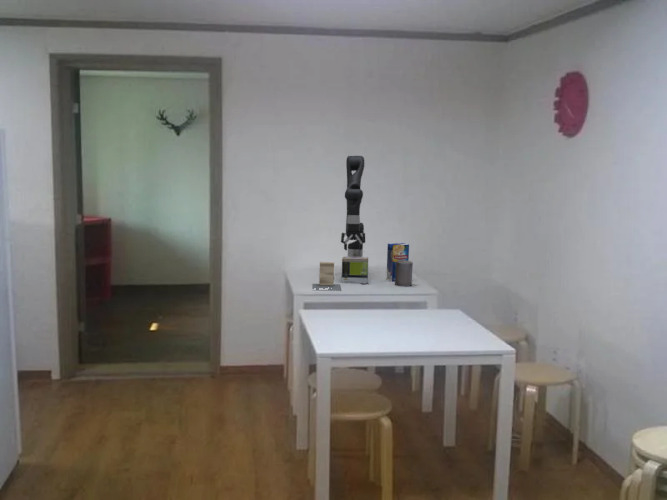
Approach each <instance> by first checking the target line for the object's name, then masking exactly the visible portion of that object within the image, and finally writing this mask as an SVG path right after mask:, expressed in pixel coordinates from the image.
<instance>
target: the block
mask: <svg viewBox="0 0 667 500" xmlns="http://www.w3.org/2000/svg"><path fill="white" fill-rule="evenodd" d="M334 281H335V262H334V261H319V282H318V284H319V286H334V284H335V282H334Z"/></svg>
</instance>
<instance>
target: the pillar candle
mask: <svg viewBox="0 0 667 500" xmlns="http://www.w3.org/2000/svg"><path fill="white" fill-rule="evenodd" d="M413 264H414V263H413V261H411V260H409V261H405V259H404V260H400V261H396V277H395V282H394V285H395V286H397V287H398V286H399V287H411V286H412V284H413ZM410 285H411V286H410Z"/></svg>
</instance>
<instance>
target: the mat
mask: <svg viewBox="0 0 667 500" xmlns="http://www.w3.org/2000/svg"><path fill="white" fill-rule="evenodd" d="M311 286H312V289H314V288H316V290H315V291H317V292H318V291H319V292H320V291H321V292H323V291H324V292H327V291H329V292H333V291H334V292H335V291H336V292H342V286H341V284H340V283H334V286H319V283H312V284H311ZM328 287H329V289H328V290H319V288H323V289H325V288H328ZM331 288H332V289H331ZM312 289H311V290H312Z"/></svg>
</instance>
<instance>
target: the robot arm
mask: <svg viewBox="0 0 667 500" xmlns="http://www.w3.org/2000/svg"><path fill="white" fill-rule="evenodd" d="M345 165H346V190H345V192H344V198H345V200H346V220H345V232H342V233H341V236H340V237H341V238H340V243H342V244H343V249H344V250H345V251H347V257H364V255H363V252H364V249H363V248H364V244H366V233H365V231H364V230H365V227H364V223H363V222H361V219H360V210H361V204H362V200H363V197H364V191H363V190H362V189H361V186H362V185H361V183H362V182H361V181H362V177H363V175H364V174H363V173H364V170H365V169H364V168H365V158H364V156H362V155H347V157H346V164H345ZM345 237H346V239H345ZM349 241H353V242H349Z"/></svg>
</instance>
